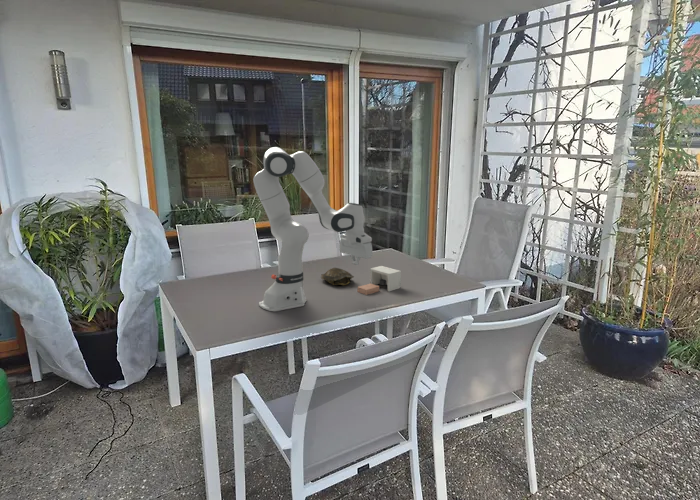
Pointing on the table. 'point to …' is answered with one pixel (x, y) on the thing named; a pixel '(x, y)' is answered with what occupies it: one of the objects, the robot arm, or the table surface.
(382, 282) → the stop blocks
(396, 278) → the white storage bin
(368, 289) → the tan rectangular block
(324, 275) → the turtle shell
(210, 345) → the table surface
